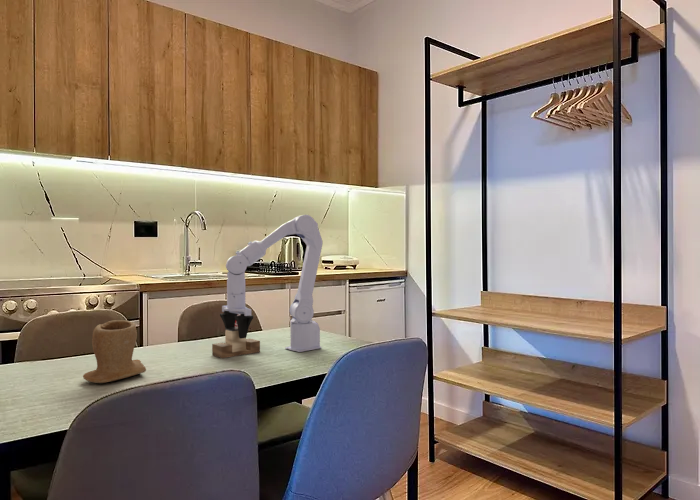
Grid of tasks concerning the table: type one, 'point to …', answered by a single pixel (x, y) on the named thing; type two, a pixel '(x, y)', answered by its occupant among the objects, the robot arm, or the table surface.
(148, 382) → the table surface
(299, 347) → the robot arm
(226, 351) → the brown u-shaped block
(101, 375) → the stone cup
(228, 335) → the tan wooden block
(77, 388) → the table surface
